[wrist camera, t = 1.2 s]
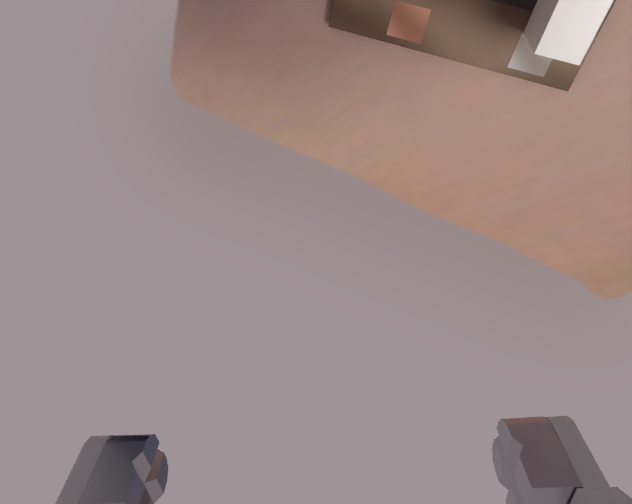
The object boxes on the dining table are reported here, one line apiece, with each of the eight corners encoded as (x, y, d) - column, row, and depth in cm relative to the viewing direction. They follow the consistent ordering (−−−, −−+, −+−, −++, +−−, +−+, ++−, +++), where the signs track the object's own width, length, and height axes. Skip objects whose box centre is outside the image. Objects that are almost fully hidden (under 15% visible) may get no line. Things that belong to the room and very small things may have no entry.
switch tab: (553, -38, 34) (573, -33, 27) (593, -29, 34) (624, -21, 27) (523, 32, 37) (534, 53, 30) (559, 41, 37) (579, 65, 30)
